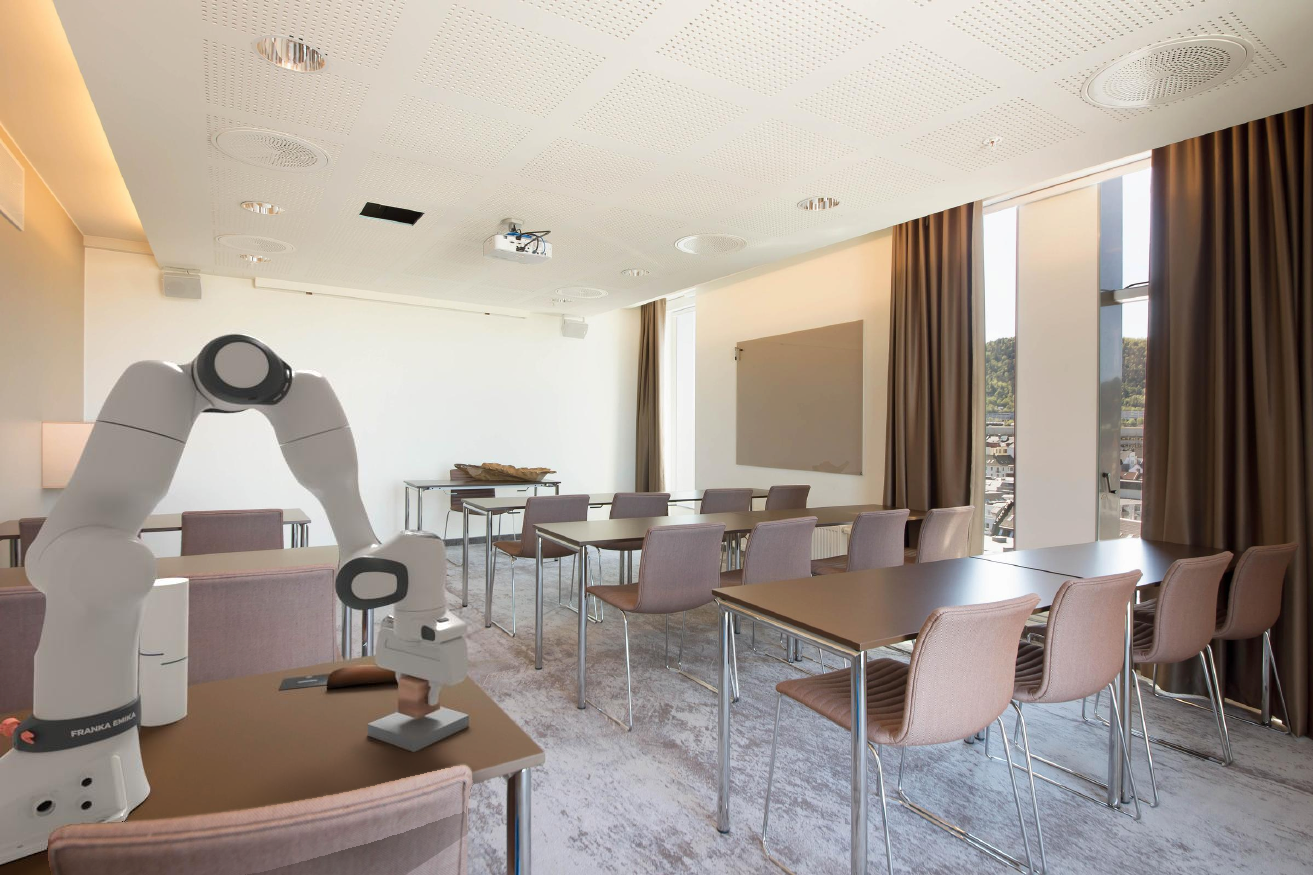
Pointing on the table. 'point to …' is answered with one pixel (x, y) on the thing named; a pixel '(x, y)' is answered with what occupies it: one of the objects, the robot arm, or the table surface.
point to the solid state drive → (304, 682)
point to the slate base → (418, 728)
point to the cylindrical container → (164, 653)
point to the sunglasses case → (360, 675)
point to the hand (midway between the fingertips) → (419, 700)
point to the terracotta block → (414, 697)
